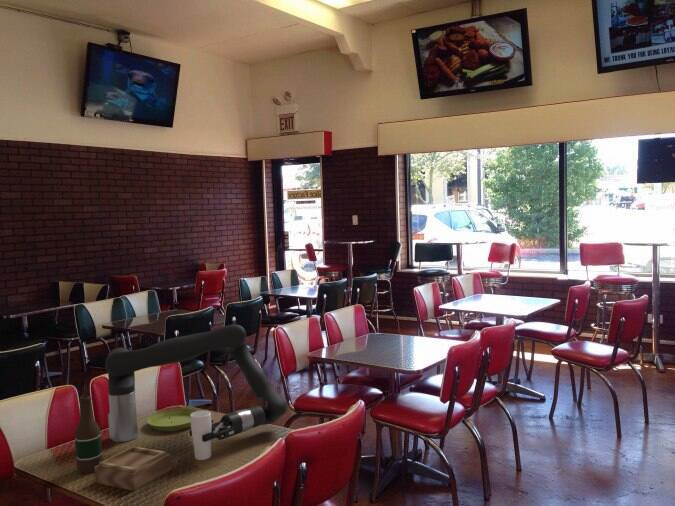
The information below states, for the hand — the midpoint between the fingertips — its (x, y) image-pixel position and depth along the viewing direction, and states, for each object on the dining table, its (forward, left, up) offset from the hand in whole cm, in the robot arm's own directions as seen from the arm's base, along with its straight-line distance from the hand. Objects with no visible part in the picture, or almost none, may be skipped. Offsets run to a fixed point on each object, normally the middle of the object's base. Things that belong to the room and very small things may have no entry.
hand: (196, 436), depth 197 cm
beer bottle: (-29, -18, -8) cm, 35 cm away
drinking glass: (+1, +2, -8) cm, 8 cm away
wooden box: (-11, -17, -8) cm, 22 cm away
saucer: (-31, +25, -9) cm, 41 cm away
